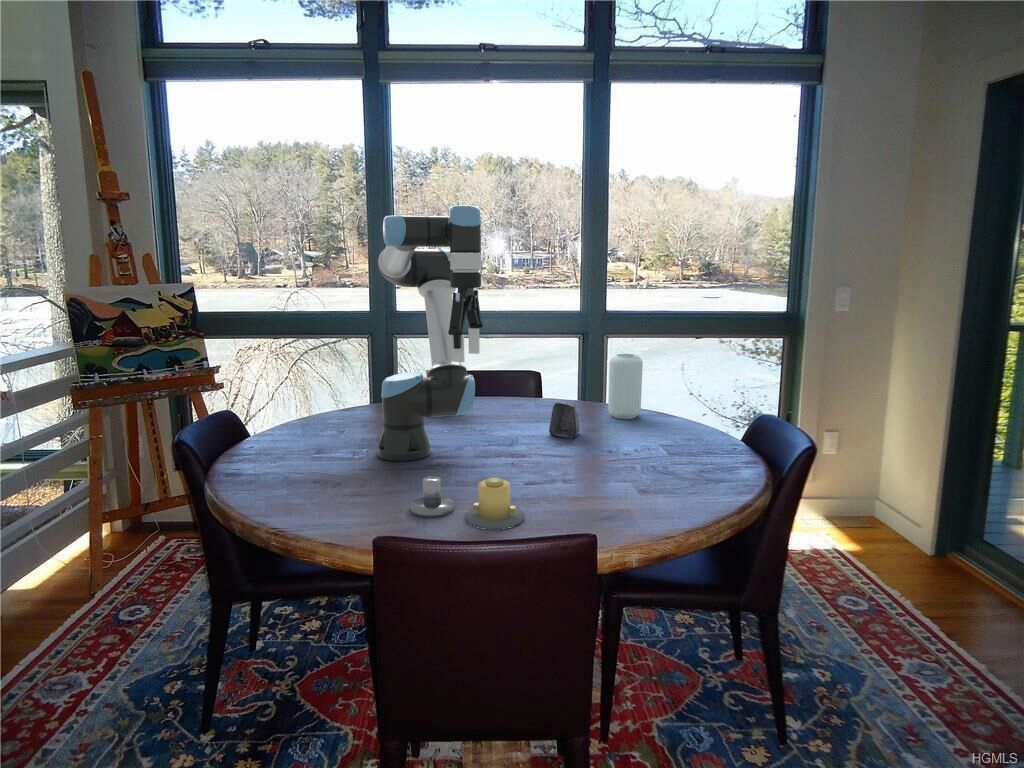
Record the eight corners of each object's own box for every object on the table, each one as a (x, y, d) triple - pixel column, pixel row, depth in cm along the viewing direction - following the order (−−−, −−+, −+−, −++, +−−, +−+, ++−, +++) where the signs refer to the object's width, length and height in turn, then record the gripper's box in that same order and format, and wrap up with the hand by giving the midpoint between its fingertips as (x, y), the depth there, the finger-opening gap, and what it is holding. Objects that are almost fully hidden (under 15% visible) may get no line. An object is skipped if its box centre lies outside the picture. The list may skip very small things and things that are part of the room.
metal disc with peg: (403, 516, 145) (402, 485, 143) (419, 499, 154) (418, 470, 153) (446, 519, 143) (445, 488, 141) (459, 503, 152) (459, 473, 151)
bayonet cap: (478, 506, 148) (478, 474, 146) (518, 510, 146) (518, 477, 144) (469, 518, 141) (469, 484, 140) (511, 522, 139) (511, 488, 138)
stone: (570, 446, 203) (542, 433, 207) (578, 443, 213) (551, 431, 216) (584, 410, 202) (555, 398, 205) (592, 409, 211) (565, 397, 214)
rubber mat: (457, 526, 139) (457, 523, 139) (474, 504, 151) (474, 501, 151) (517, 532, 136) (517, 529, 136) (529, 509, 149) (529, 505, 149)
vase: (616, 411, 241) (618, 351, 237) (645, 415, 234) (648, 354, 230) (602, 417, 232) (604, 355, 227) (631, 422, 225) (634, 358, 221)
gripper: (465, 269, 171) (466, 349, 176) (433, 272, 147) (435, 365, 152) (493, 270, 170) (493, 350, 174) (465, 273, 146) (466, 366, 150)
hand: (466, 357), depth 163 cm, fingers open, 13 cm apart
